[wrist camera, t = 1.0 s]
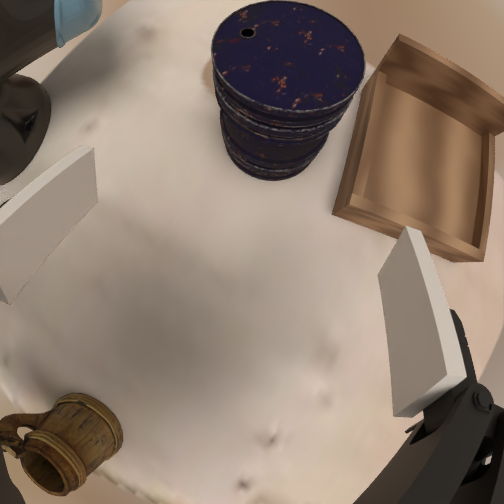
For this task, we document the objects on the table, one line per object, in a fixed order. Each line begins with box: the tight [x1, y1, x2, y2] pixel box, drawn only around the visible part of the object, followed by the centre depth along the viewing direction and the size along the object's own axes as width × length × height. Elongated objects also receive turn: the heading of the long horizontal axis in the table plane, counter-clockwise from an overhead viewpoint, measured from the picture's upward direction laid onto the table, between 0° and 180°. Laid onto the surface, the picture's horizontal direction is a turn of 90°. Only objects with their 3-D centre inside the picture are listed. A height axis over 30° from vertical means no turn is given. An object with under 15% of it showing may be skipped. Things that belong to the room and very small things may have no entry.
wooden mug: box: [0, 393, 123, 496], centre depth 20 cm, size 9×14×18 cm, turn 54°
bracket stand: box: [332, 34, 504, 262], centre depth 26 cm, size 16×16×11 cm
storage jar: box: [211, 0, 366, 181], centre depth 24 cm, size 10×10×15 cm
